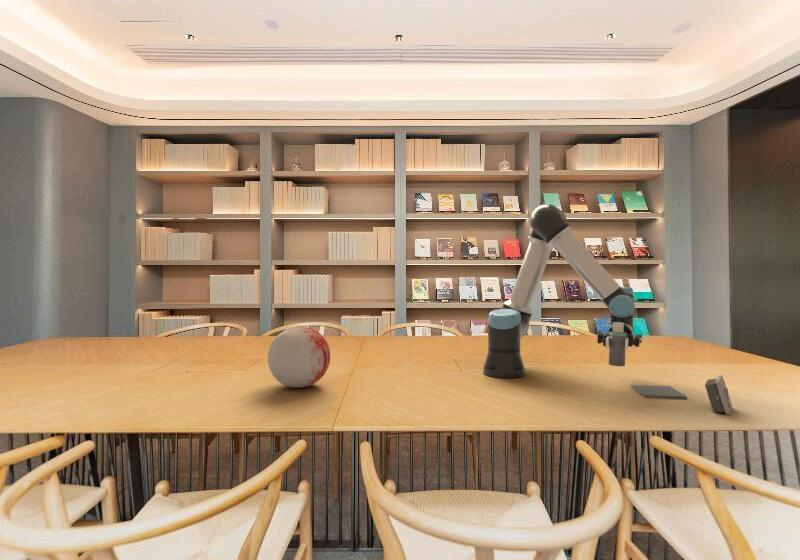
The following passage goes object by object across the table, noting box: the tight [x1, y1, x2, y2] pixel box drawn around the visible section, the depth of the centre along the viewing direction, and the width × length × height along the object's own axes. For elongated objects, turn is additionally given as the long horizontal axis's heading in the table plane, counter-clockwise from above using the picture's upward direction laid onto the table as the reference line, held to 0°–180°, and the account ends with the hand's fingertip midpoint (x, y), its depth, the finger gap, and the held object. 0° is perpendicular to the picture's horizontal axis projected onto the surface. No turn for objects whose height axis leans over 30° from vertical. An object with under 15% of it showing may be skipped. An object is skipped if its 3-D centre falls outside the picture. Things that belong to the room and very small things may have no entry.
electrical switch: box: [704, 374, 733, 416], centre depth 132 cm, size 9×5×9 cm, turn 141°
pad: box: [630, 384, 688, 400], centre depth 149 cm, size 12×12×1 cm
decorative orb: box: [267, 326, 331, 389], centre depth 156 cm, size 21×20×20 cm
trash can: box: [608, 322, 627, 367], centre depth 145 cm, size 5×5×13 cm
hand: (616, 344), depth 140 cm, fingers closed on trash can, 4 cm apart
